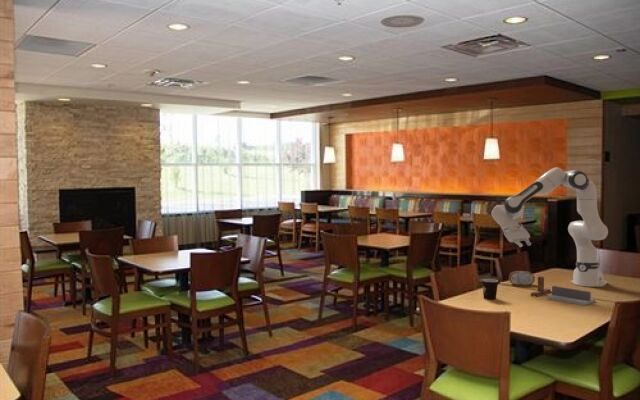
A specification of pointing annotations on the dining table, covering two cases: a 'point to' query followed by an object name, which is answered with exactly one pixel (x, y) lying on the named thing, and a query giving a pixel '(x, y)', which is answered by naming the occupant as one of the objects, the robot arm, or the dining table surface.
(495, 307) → the dining table surface
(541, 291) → the brown t-shaped block
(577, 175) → the robot arm
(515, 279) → the tin
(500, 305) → the dining table surface
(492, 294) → the coffee mug
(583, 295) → the ridge stand
